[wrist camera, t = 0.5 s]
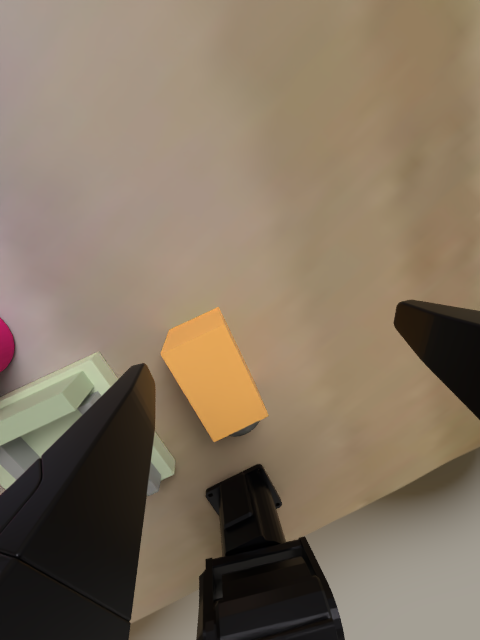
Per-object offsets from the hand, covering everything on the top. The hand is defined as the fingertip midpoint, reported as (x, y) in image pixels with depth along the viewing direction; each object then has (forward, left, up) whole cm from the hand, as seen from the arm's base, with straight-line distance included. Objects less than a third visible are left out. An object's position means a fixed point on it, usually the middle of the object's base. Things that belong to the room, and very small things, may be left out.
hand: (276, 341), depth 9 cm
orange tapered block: (-5, +4, -12) cm, 14 cm away
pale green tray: (-7, +18, -12) cm, 23 cm away
